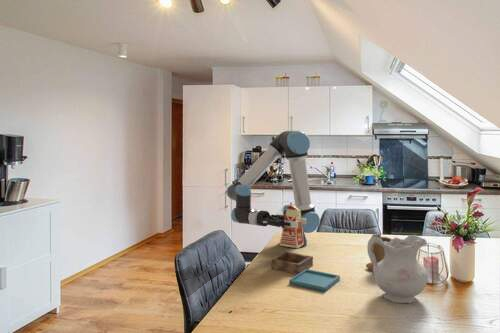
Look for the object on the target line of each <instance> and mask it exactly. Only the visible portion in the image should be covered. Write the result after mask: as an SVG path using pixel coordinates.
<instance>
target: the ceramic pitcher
mask: <svg viewBox="0 0 500 333" xmlns="http://www.w3.org/2000/svg"><path fill="white" fill-rule="evenodd" d="M381 237H382V234H380V233H378V234H377V233H374V234H373V235H371V237H370V238H369V239H368V242H367V255H368V257H369V261H370V263H371V262H372V264H373V270H372V273H373V275H374V280H375V283H376V285H377V287H378V288H379V289H380V290H381V291H382V292H384V293H383V294H382V296H383V297H384V299H385V300H386V301H390V302H393V303H395V304H412V303H413V304H415V303H417V302H419V301H420V300H419V299H418V298H416V296H418V295H420V294H421V293H422V292H423V291H424V290H425V288H426V287H427V283H428V280H429V278H428V271H427V269H426V268H425V267H424V266H423V265H422V264H421V263H420V262H419V261H418V260H417V254H418V251H419V250H420V249H421V248H422V247H425V246H427V245H428V242H427V239H425V238H423V237H420V236H419V235H417V234H410V235H408V236H407V237H405V238H399V237H398V236H396V237H394V238H391V239H392V240H391V241H390V242H386V241H384V242H383V241H382V238H381ZM375 243H379V244H380V245H381V246H382V247H383V248H384V250H385V257H384V259H383V260H382V261H380V262H379V263H377V262H376V258H375V255H374V253H373V245H374V244H375Z"/></svg>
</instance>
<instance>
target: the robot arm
mask: <svg viewBox="0 0 500 333" xmlns="http://www.w3.org/2000/svg"><path fill="white" fill-rule="evenodd" d="M310 147H311V141H310V138H309V136H308V134H307V133H305V132H303V131H300V130H285V131H283V132H280V133H279V134H278V135H277V136H276V137H274V139H273V140H272V141H271V142H270V143H269V144H268V145H267V149H266V150H265V151H264V152H263V153H261V155H260V156H259V158H257V159H256V161H255V162H254V163H252V165H251V166H250V167H249V168H248V169H247V170H246V171H245V172H244V173H243V174H242V175H241V177H239V178H238V179H237V181H236V182H235V183H234V184H231V185H229V186H228V187H227V188H226V196H227V197H228V198H229V199H230V200H233V201H235V207H234V208H232V210H231V213H230V218H231V221H233V222H234V223H237V224H244V225H251V226H260V227H267V226H271V227H277V228H281V229H283V228H284V226H285V227H293V228H298V222H295V221H287V220H285V221H284V219H285V215H286V210H287V208H288V207H289V206H291V203H290V204H285V205H284V206H283V210H282V214H278V213H277V214H270V212H269V211H268V210H260V209H256V208H254V209H252V208H251V207H252V206H251V205H252V204H251V203H252V198H251V197H252V196H251V195H252V192H251V190H252V189H251V187H252V186H253V185H254V184H255V183H256V182H257V181H258V180H259V179H260V178H261V177H262V176H263V174H265V172H266V171H268V169H269V168H271V166H272V165H273V164H275V162H276V161H277V160H278V159H281V158H283V156H285V159H286V160H287V161H288V164H289V171H290V178H291V185H292V192H293V193H292V194H293V201H294V203H293V204H294V205H296V207H297V208H298V209H299V210H300V211H301V219H302V228H303V242H304V244H303V245H302V246H301V247H299V248H303V247H304V248H305V247H307V245H308V240H307V238H306V234H310V233H314V232H315V231H316V230H317V229H318V228H319V226H320V224H321V219H320V216H319V215H318V213H317V212H316V208H315V204H313V203H312V201H311V193H310V185H309V184H310V183H309V179H308V178H309V177H308V176H309V175H308V171H307V168H308V167H307V162H306V159H307V157H308V151H309V149H310ZM280 241H281V238H280ZM280 241H279V242H280ZM283 247H286V248H290V249H291V248H292V249H293V248H294V247H288V246H283ZM299 248H298V249H299ZM294 249H295V248H294Z"/></svg>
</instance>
